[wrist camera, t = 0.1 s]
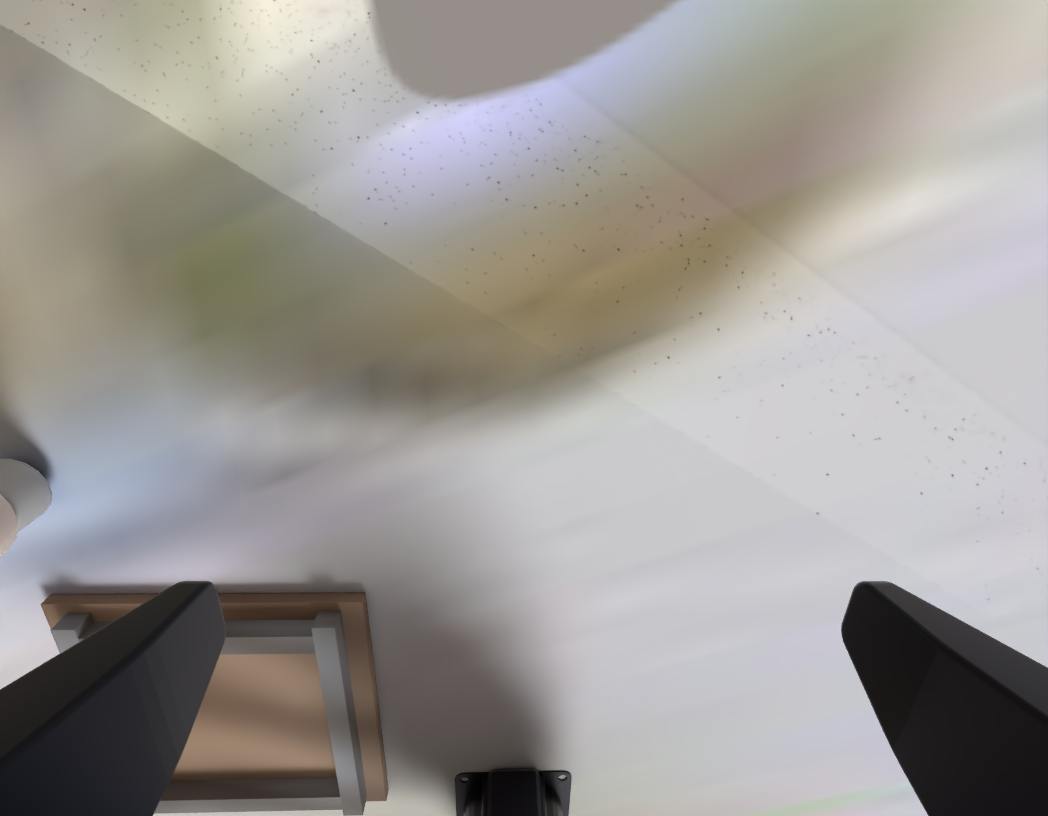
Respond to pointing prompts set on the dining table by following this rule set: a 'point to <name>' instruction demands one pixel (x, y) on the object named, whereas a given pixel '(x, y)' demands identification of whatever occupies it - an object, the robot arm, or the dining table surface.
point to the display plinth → (269, 703)
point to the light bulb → (20, 498)
